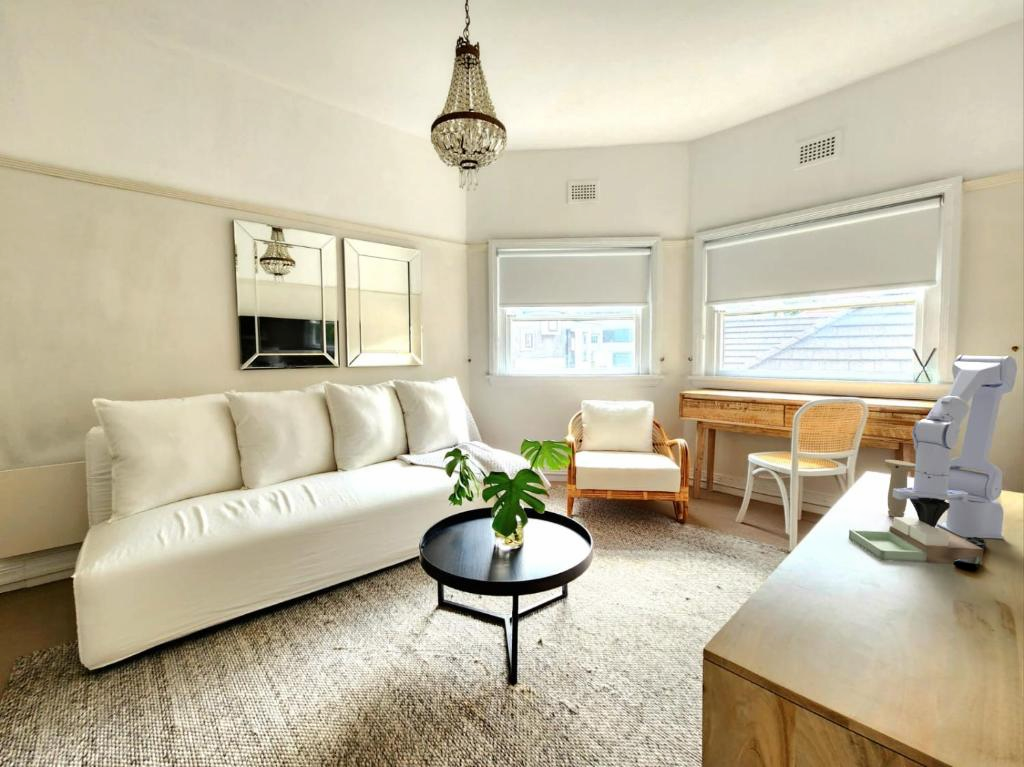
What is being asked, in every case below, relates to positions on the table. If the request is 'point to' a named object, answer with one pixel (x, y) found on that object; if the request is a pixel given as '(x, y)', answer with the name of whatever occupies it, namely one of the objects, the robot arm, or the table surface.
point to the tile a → (906, 524)
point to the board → (945, 548)
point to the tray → (887, 546)
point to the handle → (897, 485)
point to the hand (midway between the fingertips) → (926, 529)
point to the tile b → (929, 535)
